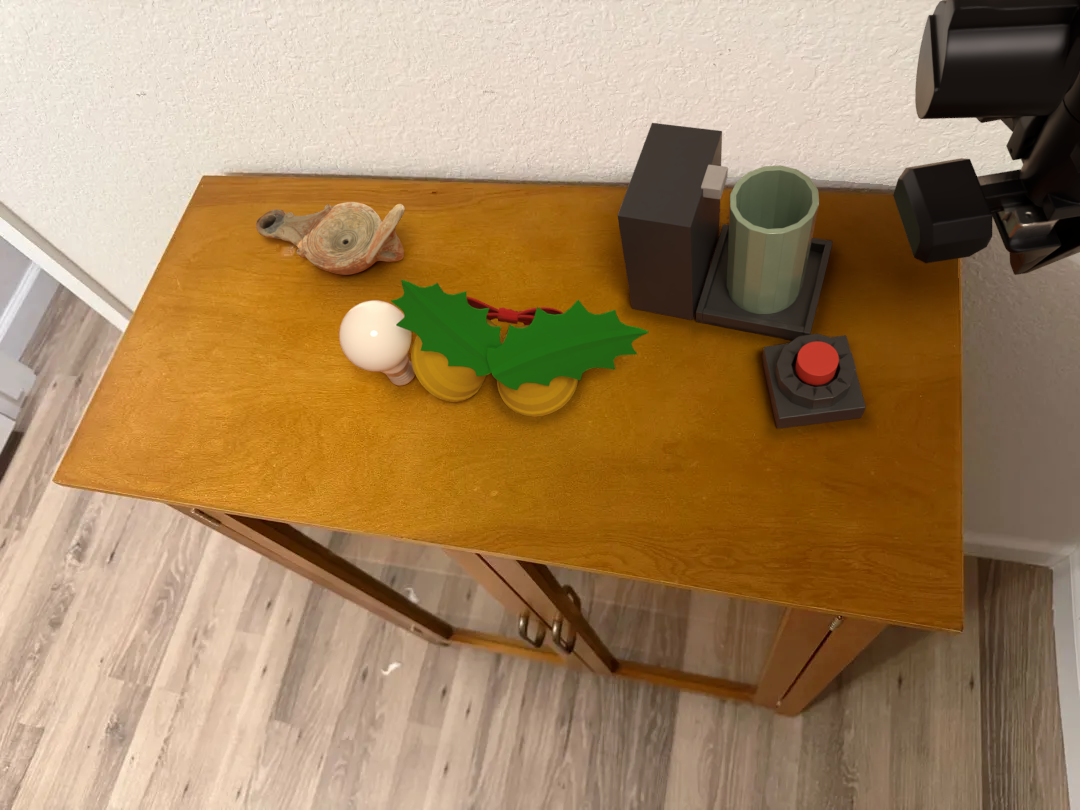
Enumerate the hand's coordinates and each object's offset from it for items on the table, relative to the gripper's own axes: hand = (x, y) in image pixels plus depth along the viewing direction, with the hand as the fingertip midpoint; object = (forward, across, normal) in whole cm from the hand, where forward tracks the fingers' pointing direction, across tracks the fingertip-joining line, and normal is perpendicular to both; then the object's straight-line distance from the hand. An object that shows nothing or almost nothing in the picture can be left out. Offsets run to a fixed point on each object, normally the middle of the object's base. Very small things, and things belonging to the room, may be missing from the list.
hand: (1017, 268), depth 55 cm
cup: (+12, +15, -10) cm, 22 cm away
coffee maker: (+13, +18, -11) cm, 25 cm away
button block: (+13, +13, +1) cm, 18 cm away
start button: (+9, +13, +1) cm, 16 cm away
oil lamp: (+13, +57, -22) cm, 63 cm away
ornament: (+13, +37, -4) cm, 39 cm away
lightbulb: (+13, +50, -6) cm, 52 cm away
